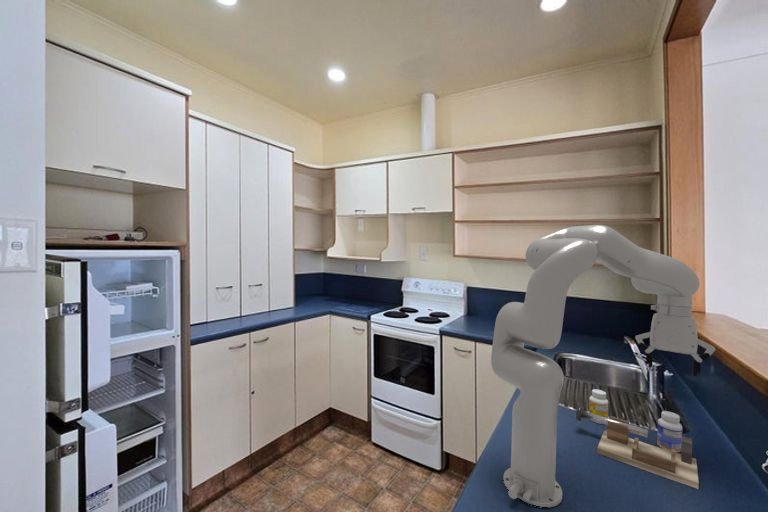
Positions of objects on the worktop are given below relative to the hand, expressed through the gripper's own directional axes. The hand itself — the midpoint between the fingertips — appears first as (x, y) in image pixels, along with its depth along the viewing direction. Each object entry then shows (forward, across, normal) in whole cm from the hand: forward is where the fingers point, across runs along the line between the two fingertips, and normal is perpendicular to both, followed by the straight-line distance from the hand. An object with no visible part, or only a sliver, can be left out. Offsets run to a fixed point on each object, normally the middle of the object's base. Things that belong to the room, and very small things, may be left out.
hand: (671, 370), depth 96 cm
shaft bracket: (+22, -5, -12) cm, 26 cm away
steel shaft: (+19, -13, -8) cm, 25 cm away
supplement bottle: (+23, -18, +4) cm, 29 cm away
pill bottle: (+23, 0, 0) cm, 23 cm away
